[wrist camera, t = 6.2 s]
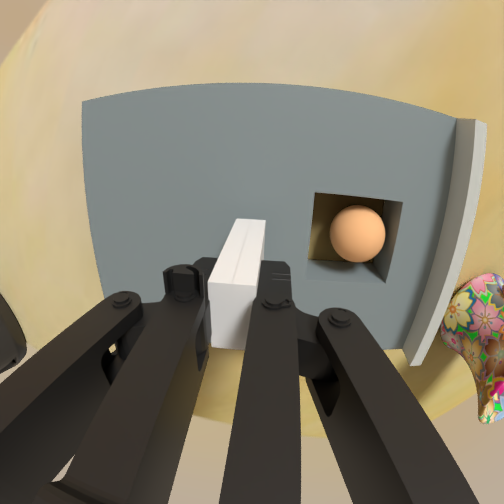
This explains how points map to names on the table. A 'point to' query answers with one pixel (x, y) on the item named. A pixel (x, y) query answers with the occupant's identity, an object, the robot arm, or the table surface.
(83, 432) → the robot arm
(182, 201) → the board
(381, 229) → the ball
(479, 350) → the mug
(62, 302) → the table surface
